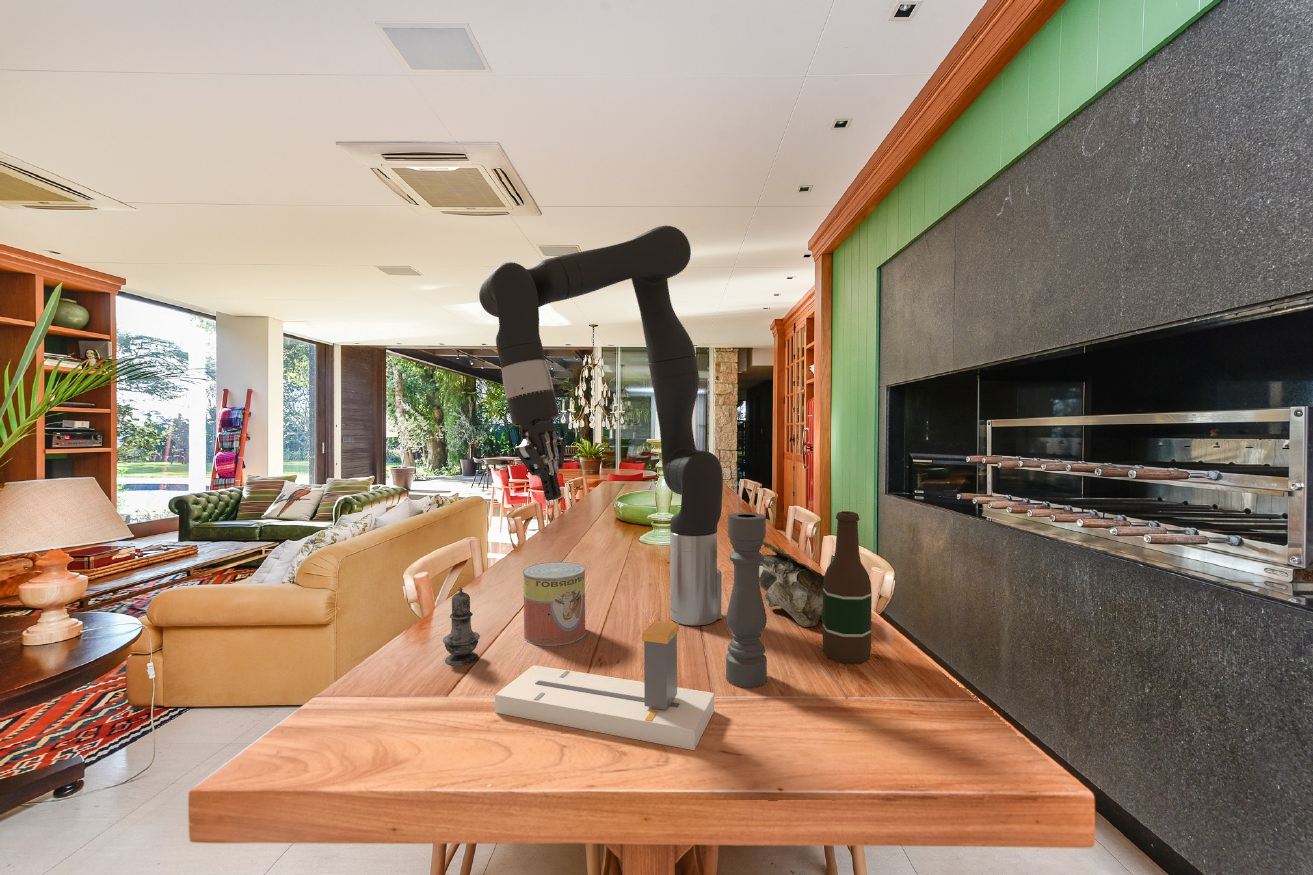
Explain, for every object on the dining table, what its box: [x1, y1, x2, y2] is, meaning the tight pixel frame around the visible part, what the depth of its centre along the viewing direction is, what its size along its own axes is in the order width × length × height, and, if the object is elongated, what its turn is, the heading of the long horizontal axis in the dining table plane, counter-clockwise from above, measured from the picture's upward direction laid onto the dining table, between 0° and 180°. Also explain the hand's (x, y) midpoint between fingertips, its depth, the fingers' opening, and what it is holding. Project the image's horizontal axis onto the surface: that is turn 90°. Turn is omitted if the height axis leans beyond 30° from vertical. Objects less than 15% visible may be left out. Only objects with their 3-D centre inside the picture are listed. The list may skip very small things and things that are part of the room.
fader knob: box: [641, 620, 680, 710], centre depth 78 cm, size 3×5×10 cm
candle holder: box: [725, 512, 768, 689], centre depth 91 cm, size 6×6×25 cm
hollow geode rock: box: [759, 540, 824, 628], centre depth 125 cm, size 28×13×15 cm
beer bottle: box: [822, 510, 873, 665], centre depth 100 cm, size 8×8×24 cm
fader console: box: [494, 664, 715, 751], centre depth 81 cm, size 28×10×3 cm, turn 71°
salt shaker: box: [442, 586, 481, 667], centre depth 99 cm, size 6×6×12 cm
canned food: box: [522, 561, 587, 647], centre depth 110 cm, size 11×11×12 cm
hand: (554, 499), depth 95 cm, fingers closed
